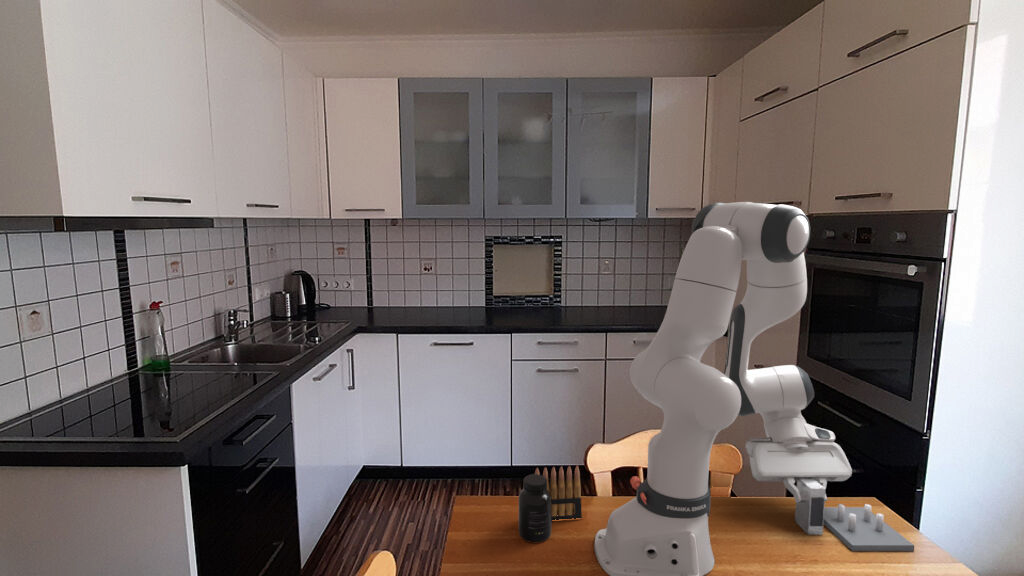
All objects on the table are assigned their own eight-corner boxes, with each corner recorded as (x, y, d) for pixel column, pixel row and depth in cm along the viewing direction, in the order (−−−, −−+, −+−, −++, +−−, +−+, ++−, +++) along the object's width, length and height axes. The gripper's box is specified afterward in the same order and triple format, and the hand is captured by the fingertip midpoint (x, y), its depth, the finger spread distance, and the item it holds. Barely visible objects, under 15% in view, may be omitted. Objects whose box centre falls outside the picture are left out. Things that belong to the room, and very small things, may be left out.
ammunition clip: (579, 515, 113) (580, 463, 112) (581, 519, 111) (582, 467, 110) (532, 518, 112) (532, 466, 111) (533, 523, 110) (533, 470, 109)
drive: (808, 535, 105) (811, 489, 104) (794, 521, 110) (797, 477, 109) (823, 535, 105) (826, 489, 104) (808, 521, 110) (811, 477, 109)
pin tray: (852, 551, 100) (853, 529, 99) (811, 512, 114) (812, 493, 113) (913, 551, 100) (915, 529, 99) (865, 512, 114) (866, 493, 113)
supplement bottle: (515, 527, 108) (515, 473, 107) (545, 523, 110) (546, 469, 109) (523, 546, 102) (523, 489, 100) (555, 541, 103) (556, 485, 102)
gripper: (748, 432, 113) (767, 496, 104) (840, 432, 113) (868, 496, 104) (738, 443, 118) (756, 506, 109) (827, 443, 118) (852, 505, 109)
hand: (811, 501), depth 107 cm, fingers closed on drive, 3 cm apart
